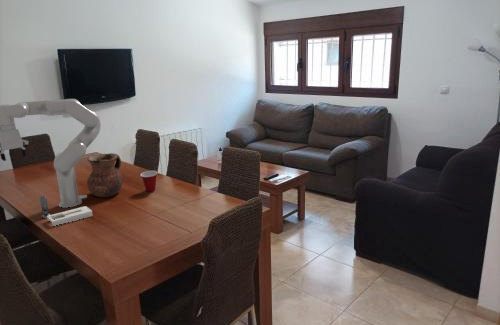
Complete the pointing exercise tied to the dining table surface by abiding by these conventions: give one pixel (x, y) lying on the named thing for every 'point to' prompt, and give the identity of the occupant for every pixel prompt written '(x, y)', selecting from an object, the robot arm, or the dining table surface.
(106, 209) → the dining table surface
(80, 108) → the robot arm
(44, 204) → the peg
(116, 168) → the jug
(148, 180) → the plastic cup
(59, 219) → the keyhole plate
